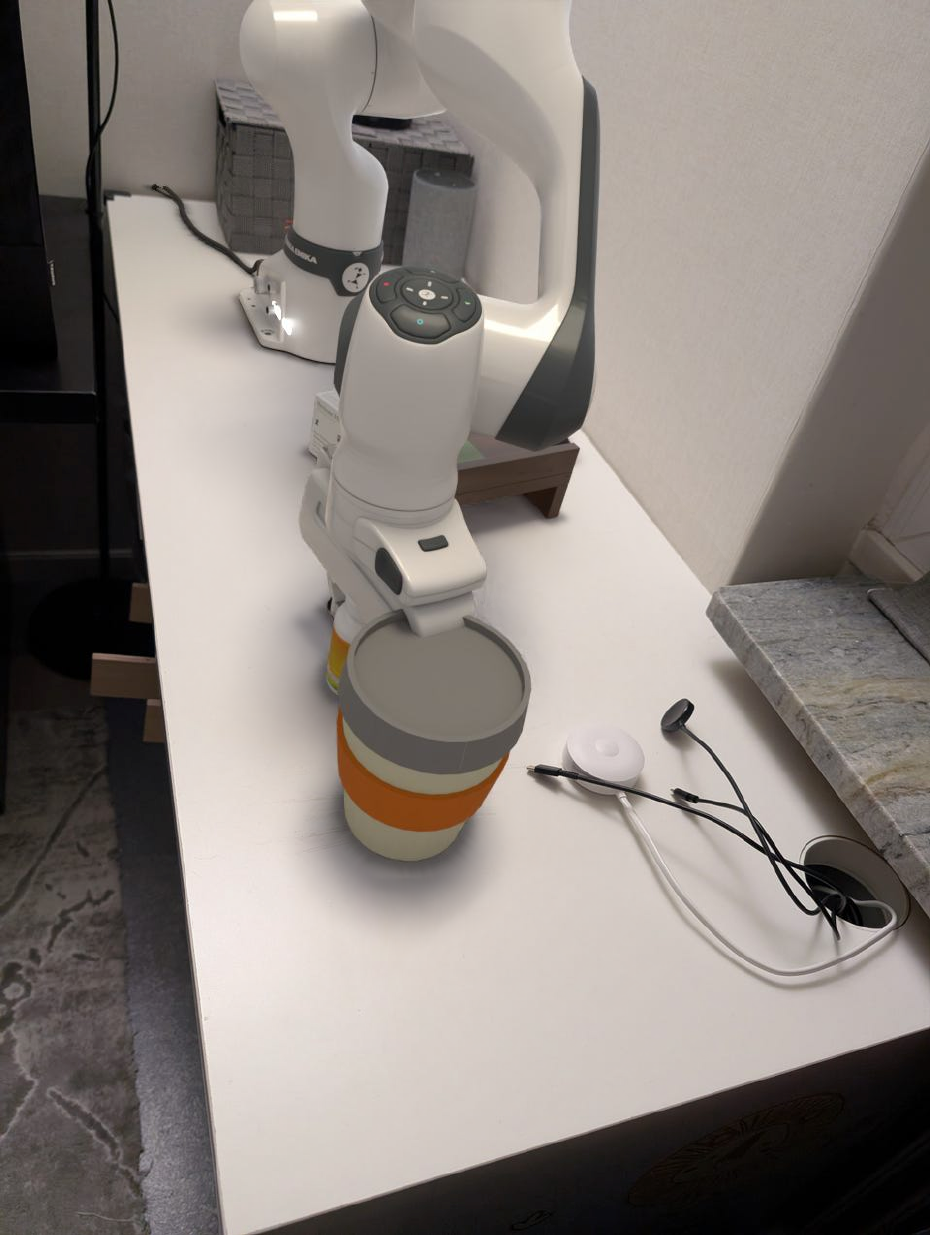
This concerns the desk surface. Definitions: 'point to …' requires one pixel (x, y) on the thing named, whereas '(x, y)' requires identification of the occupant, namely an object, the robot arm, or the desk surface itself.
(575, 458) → the shelf
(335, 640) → the supplement bottle
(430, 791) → the reusable coffee cup
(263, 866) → the desk surface
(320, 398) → the product carton
